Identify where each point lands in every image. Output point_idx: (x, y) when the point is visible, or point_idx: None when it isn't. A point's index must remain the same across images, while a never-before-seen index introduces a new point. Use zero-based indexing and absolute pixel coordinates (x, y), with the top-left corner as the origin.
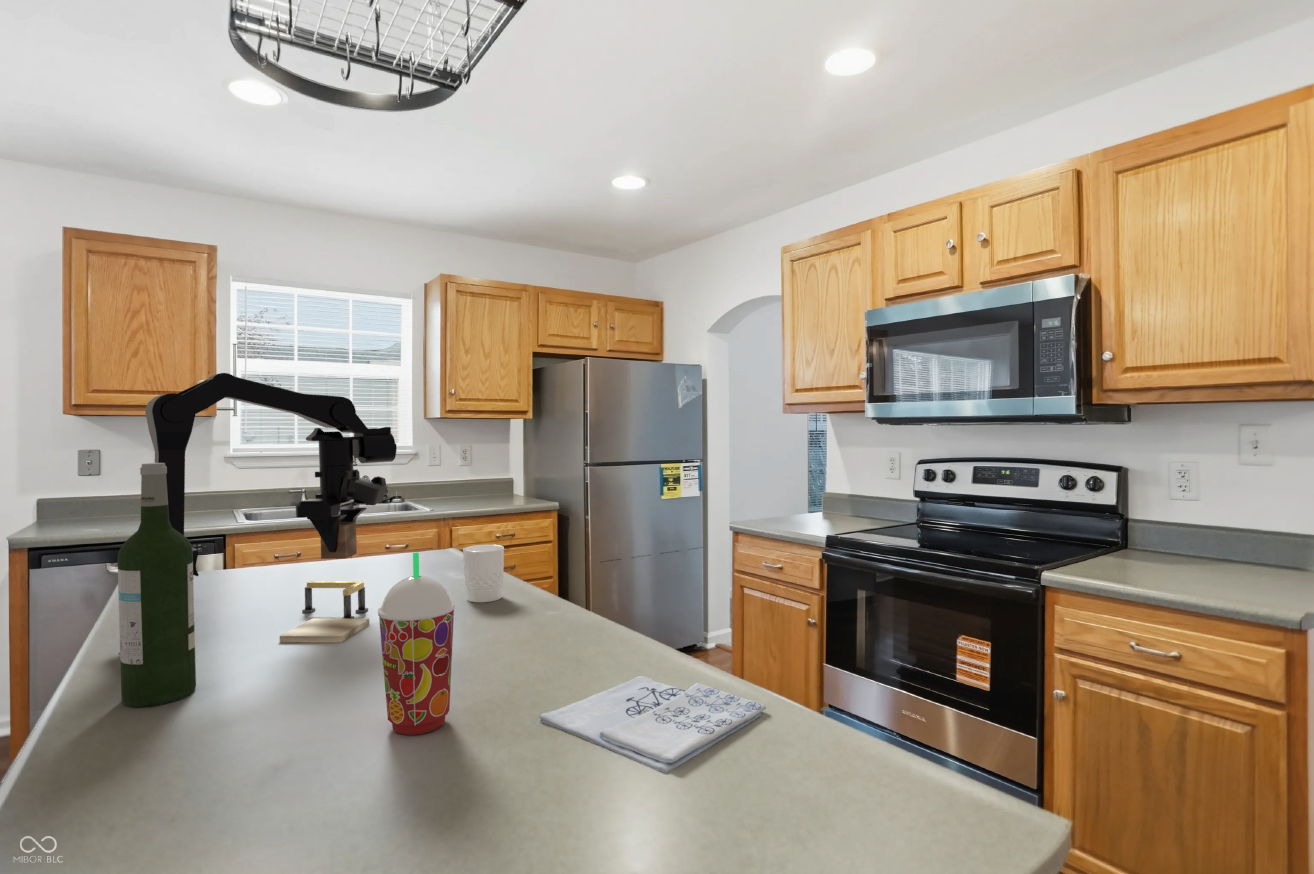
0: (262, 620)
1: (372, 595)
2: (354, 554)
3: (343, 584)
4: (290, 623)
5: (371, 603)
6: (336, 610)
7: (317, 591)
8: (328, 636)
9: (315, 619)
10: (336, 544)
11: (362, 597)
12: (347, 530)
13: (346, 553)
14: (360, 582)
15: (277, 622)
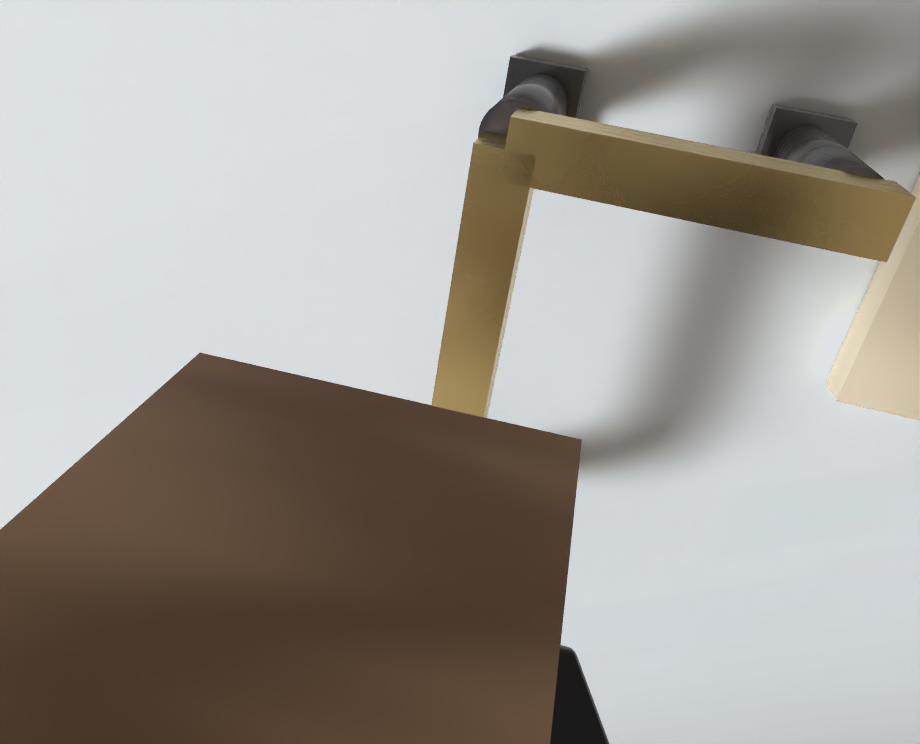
0: (623, 648)
1: (53, 148)
2: (276, 371)
3: (503, 325)
4: (747, 509)
5: (283, 89)
6: None
7: (8, 508)
8: None
9: (882, 373)
10: (564, 738)
11: (552, 104)
12: None
13: (540, 475)
14: (527, 152)
15: (695, 577)
